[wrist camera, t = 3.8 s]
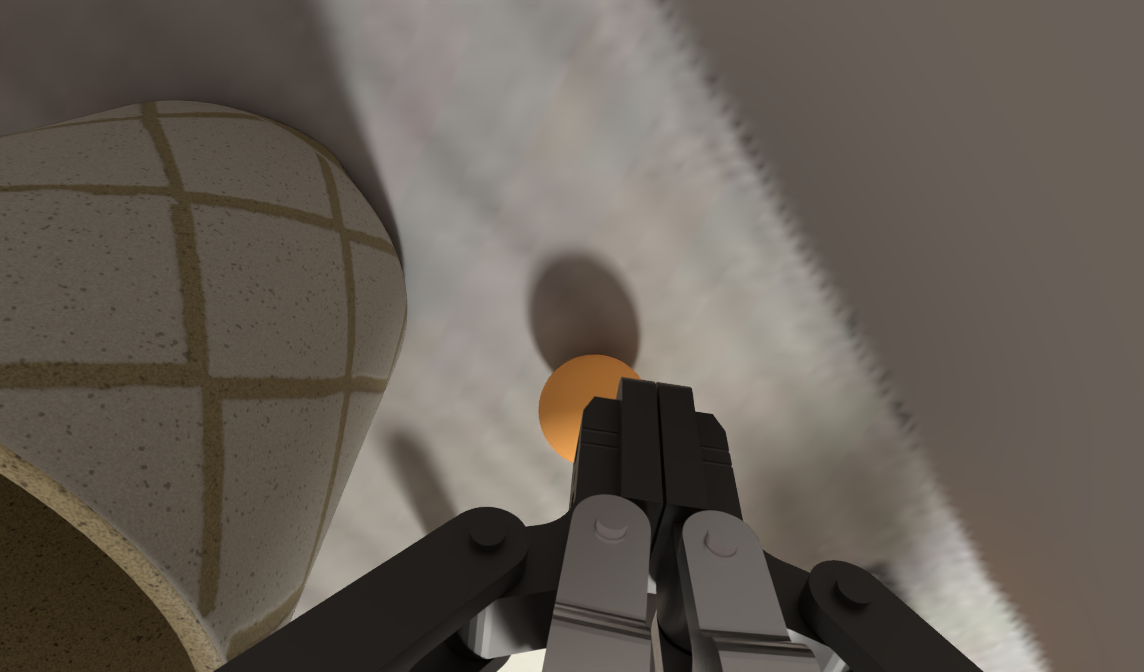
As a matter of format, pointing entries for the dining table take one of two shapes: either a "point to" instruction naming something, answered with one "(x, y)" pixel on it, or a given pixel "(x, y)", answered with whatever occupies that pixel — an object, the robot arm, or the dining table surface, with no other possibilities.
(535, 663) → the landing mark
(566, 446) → the ball
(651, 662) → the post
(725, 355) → the dining table surface
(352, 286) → the planter
